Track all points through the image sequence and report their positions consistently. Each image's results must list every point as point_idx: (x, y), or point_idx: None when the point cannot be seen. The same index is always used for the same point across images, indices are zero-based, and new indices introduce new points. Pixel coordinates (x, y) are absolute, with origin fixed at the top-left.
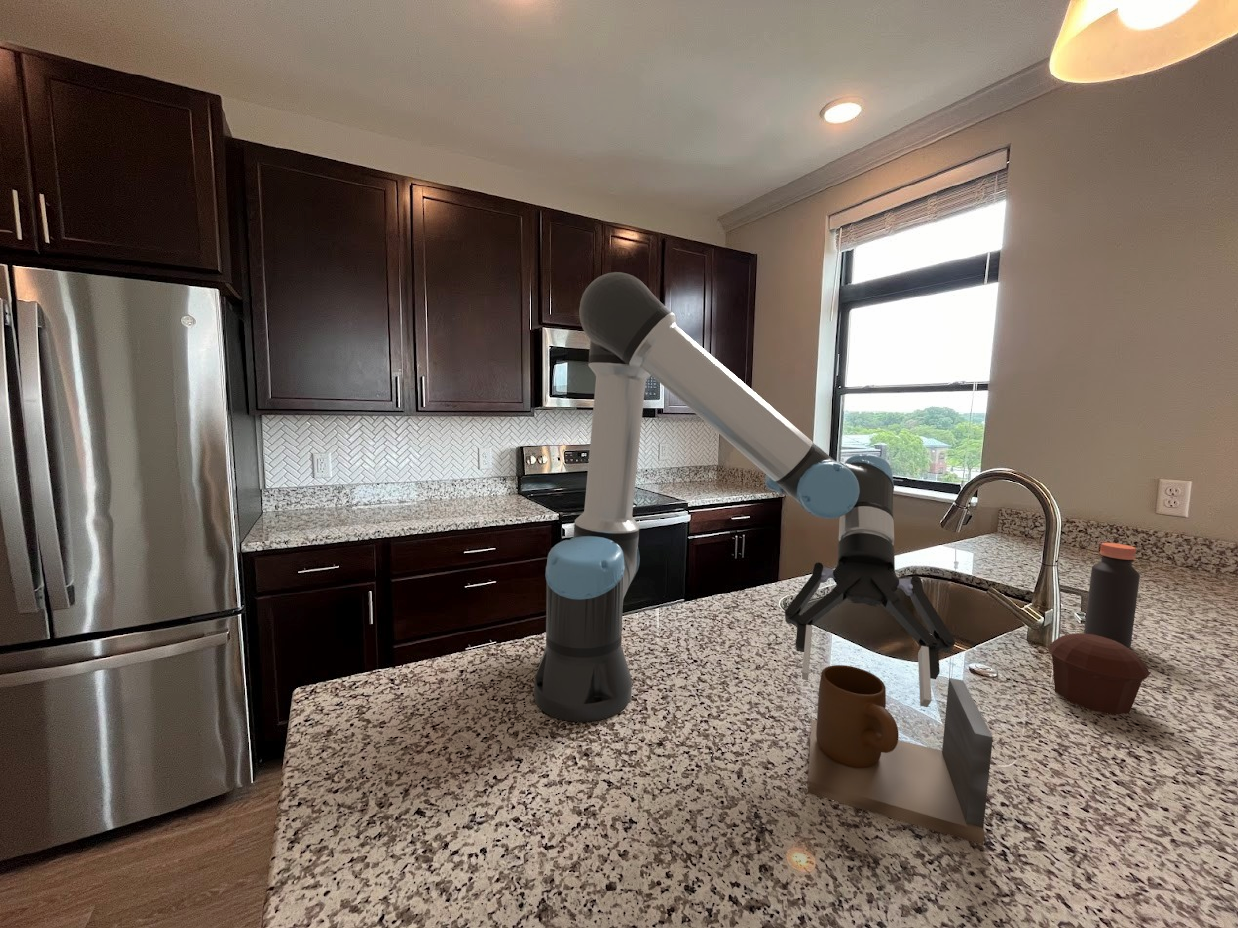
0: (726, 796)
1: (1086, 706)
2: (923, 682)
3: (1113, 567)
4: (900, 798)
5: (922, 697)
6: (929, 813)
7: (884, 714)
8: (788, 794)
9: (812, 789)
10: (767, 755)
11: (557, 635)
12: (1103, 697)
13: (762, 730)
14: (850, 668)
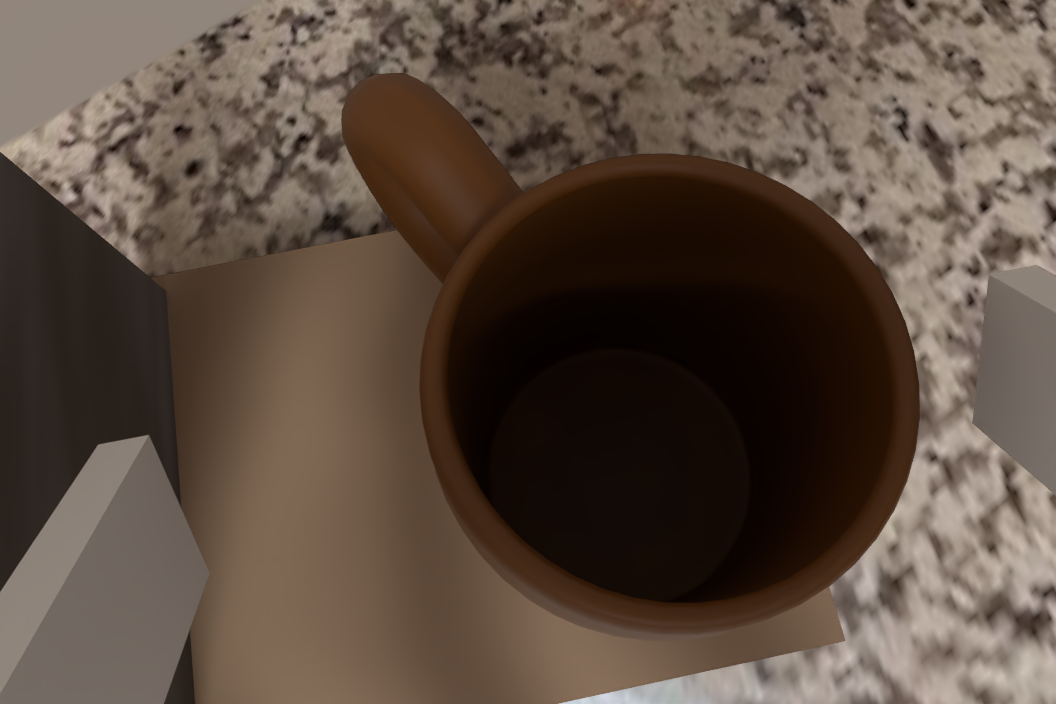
0: (912, 29)
1: None
2: (102, 519)
3: None
4: (381, 284)
5: (164, 511)
6: (284, 262)
7: (406, 83)
8: (746, 154)
9: None
10: (903, 309)
11: None
12: None
13: (1009, 470)
14: (736, 601)
